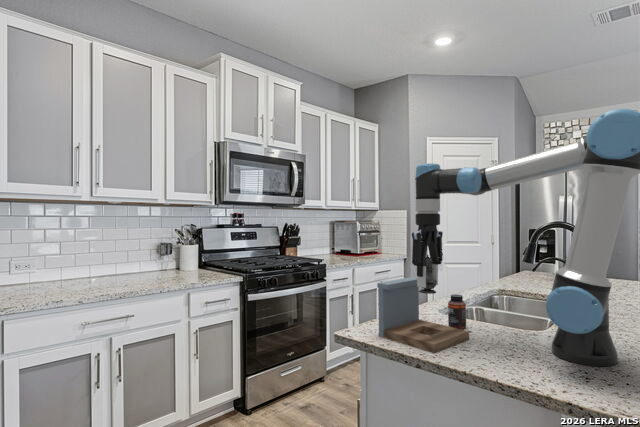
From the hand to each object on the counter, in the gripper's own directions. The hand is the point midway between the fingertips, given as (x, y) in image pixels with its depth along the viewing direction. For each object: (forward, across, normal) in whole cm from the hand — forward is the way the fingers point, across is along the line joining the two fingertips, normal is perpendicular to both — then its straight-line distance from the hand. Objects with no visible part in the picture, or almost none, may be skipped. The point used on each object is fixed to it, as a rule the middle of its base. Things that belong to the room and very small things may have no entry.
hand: (427, 285), depth 124 cm
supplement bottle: (+17, -19, -1) cm, 26 cm away
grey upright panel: (+17, -1, -10) cm, 20 cm away
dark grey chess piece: (+2, 0, 0) cm, 2 cm away
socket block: (+17, -1, -1) cm, 17 cm away
